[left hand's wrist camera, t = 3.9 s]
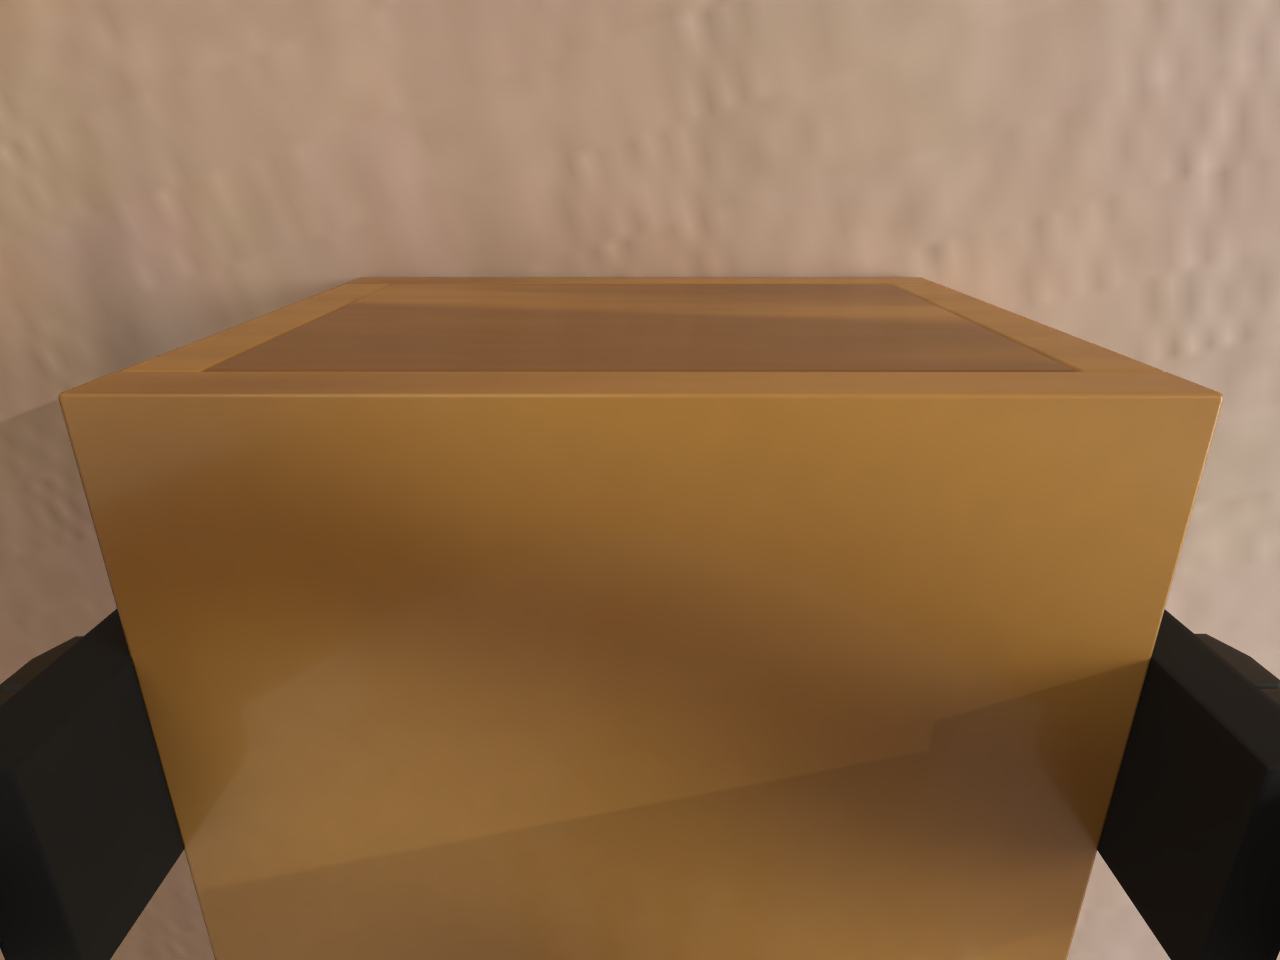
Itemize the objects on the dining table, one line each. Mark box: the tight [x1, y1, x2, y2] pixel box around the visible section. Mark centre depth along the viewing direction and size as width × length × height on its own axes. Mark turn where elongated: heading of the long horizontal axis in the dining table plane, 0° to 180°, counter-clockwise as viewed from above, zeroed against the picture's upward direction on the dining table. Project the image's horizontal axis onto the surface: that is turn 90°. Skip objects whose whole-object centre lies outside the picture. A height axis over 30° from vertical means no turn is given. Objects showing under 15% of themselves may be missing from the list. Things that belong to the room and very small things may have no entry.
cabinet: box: [59, 278, 1223, 960], centre depth 15 cm, size 22×11×8 cm, turn 0°
